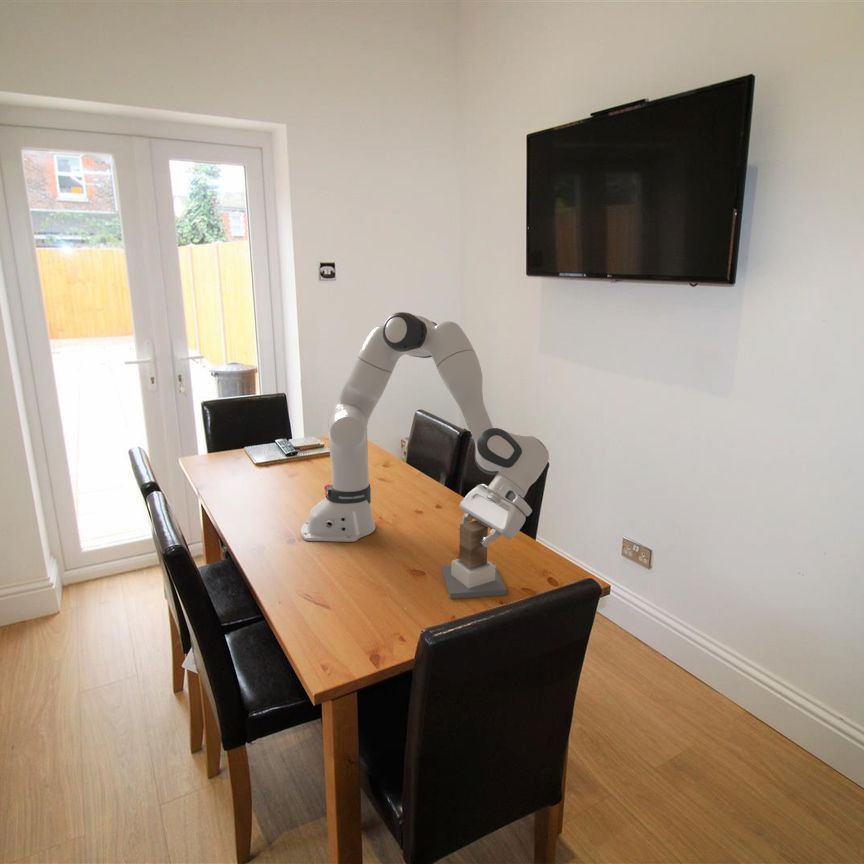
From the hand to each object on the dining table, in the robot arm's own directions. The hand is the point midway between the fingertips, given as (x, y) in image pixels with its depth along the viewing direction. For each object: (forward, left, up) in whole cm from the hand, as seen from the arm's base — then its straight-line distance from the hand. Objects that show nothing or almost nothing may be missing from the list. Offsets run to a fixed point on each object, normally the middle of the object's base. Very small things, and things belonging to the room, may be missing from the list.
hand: (471, 538), depth 153 cm
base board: (+1, 0, -13) cm, 13 cm away
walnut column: (+1, 0, -7) cm, 7 cm away
